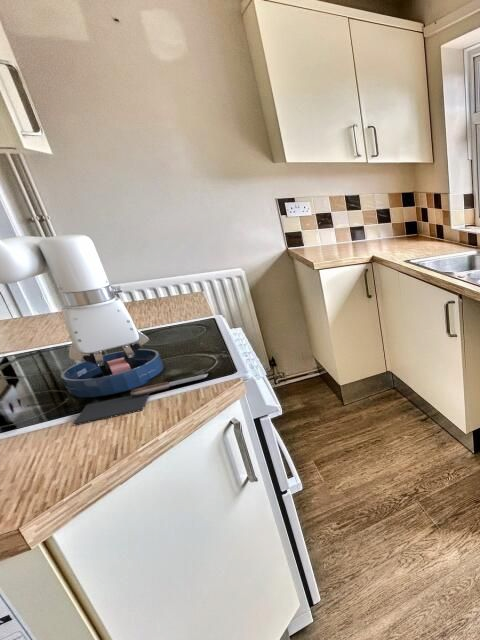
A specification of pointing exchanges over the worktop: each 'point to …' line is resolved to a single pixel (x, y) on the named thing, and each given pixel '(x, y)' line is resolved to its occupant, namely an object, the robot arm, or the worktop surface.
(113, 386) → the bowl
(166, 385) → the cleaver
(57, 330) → the worktop surface
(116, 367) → the eraser
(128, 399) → the mat
